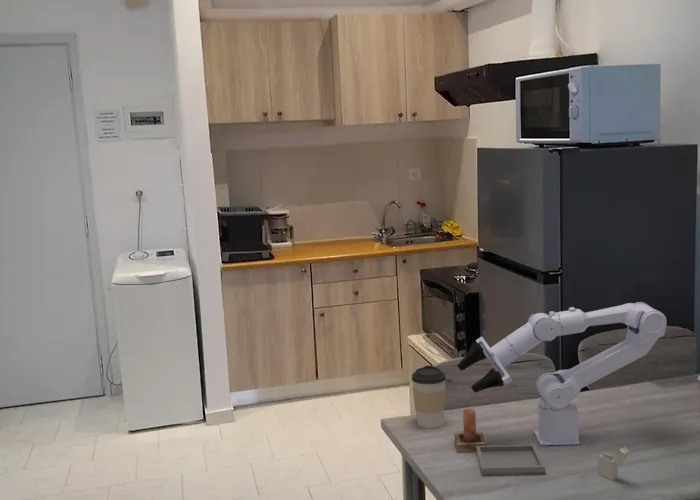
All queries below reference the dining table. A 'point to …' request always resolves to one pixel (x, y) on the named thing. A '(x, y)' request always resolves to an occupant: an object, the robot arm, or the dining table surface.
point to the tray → (510, 460)
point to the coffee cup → (429, 396)
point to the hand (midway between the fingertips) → (465, 378)
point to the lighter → (611, 463)
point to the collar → (468, 446)
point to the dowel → (469, 425)
